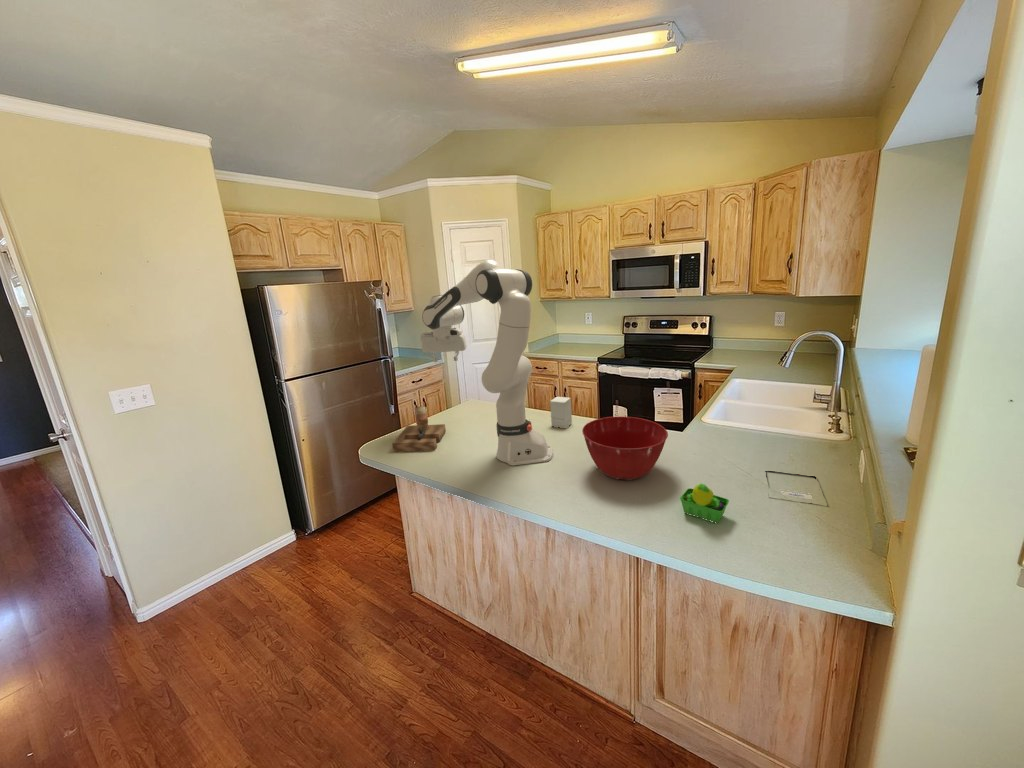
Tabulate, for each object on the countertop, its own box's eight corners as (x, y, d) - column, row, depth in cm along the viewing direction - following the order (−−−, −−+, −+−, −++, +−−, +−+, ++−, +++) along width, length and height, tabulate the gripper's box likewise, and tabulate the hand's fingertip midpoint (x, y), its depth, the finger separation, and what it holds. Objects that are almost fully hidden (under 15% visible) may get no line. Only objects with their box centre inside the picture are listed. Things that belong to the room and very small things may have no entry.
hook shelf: (445, 432, 196) (443, 416, 194) (435, 450, 177) (432, 432, 175) (408, 433, 198) (405, 417, 196) (393, 452, 179) (390, 434, 177)
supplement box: (572, 423, 195) (571, 397, 192) (565, 429, 189) (564, 402, 186) (558, 421, 199) (556, 396, 196) (551, 426, 193) (549, 400, 190)
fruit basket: (728, 515, 119) (731, 479, 116) (719, 530, 113) (721, 493, 110) (687, 502, 127) (689, 468, 124) (676, 516, 121) (677, 481, 118)
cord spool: (430, 426, 194) (427, 406, 191) (427, 430, 189) (424, 409, 186) (419, 427, 194) (416, 406, 191) (415, 431, 189) (412, 410, 186)
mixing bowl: (663, 455, 158) (664, 416, 153) (670, 495, 131) (671, 449, 127) (587, 451, 165) (586, 414, 161) (579, 488, 139) (577, 445, 135)
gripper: (418, 333, 189) (422, 363, 193) (462, 331, 187) (465, 361, 191) (421, 331, 195) (425, 360, 199) (465, 329, 194) (468, 358, 197)
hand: (445, 361), depth 195 cm, fingers open, 8 cm apart
